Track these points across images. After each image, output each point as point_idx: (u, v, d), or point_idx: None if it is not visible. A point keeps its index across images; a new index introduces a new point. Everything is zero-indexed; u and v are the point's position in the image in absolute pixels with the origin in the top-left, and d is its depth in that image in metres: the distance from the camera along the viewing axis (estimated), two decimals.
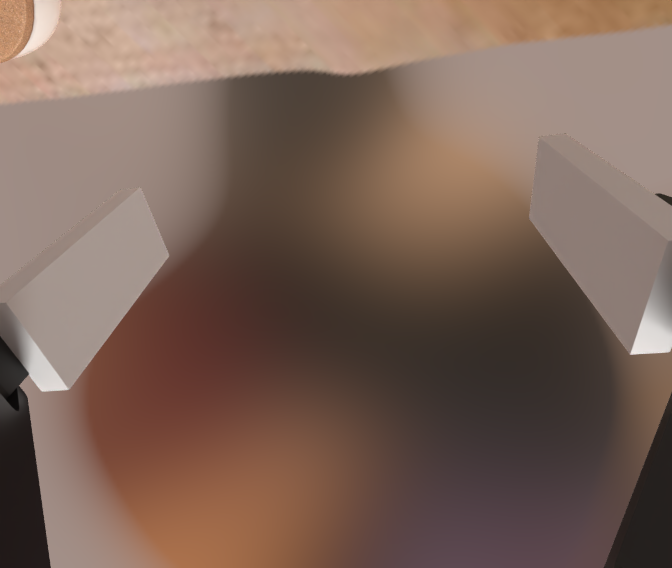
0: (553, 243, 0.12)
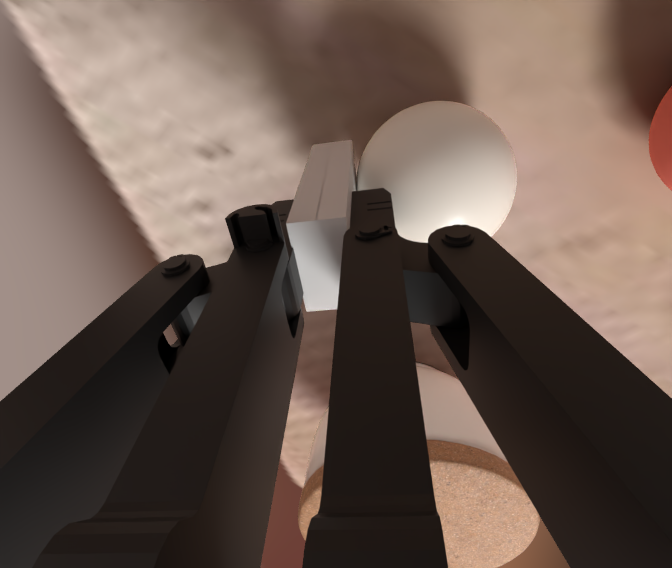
0: None
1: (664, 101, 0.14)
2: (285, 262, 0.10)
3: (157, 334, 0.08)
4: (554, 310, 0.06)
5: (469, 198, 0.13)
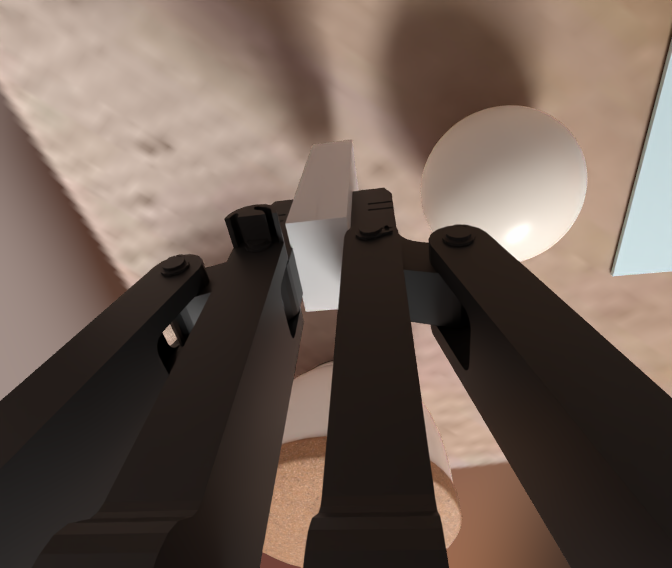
0: None
1: None
2: (284, 262, 0.10)
3: (156, 334, 0.08)
4: (554, 310, 0.06)
5: None
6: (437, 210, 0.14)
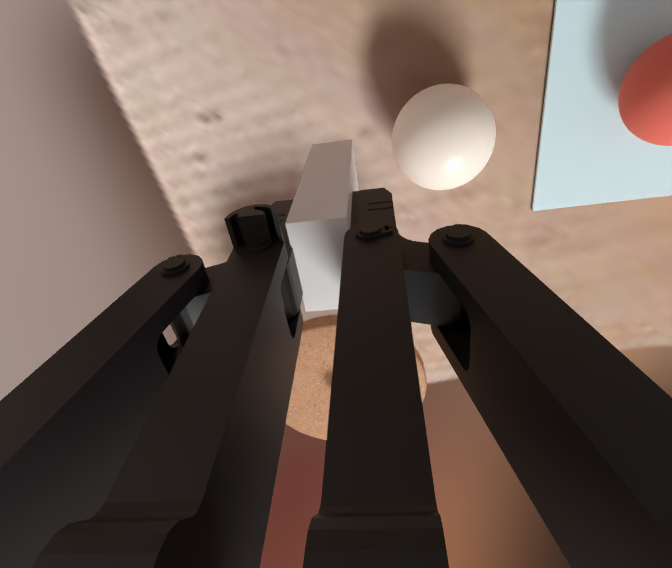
0: None
1: None
2: (284, 262, 0.10)
3: (156, 334, 0.08)
4: (555, 310, 0.06)
5: None
6: (401, 150, 0.22)
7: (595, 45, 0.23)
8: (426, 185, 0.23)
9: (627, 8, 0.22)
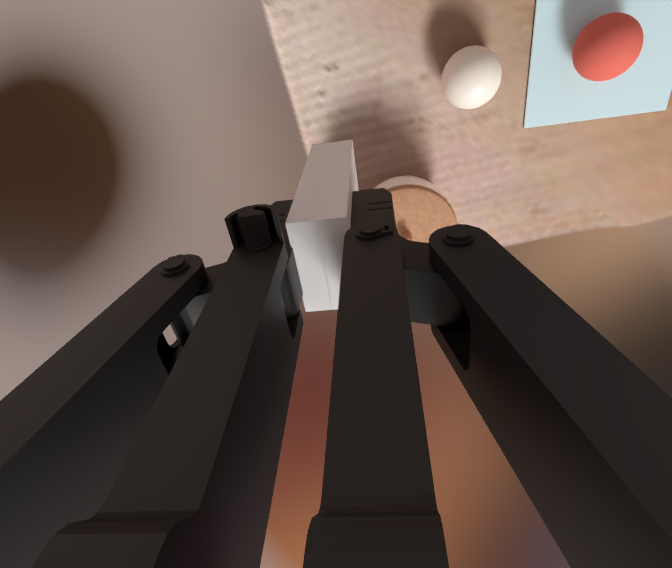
0: None
1: (636, 35, 0.36)
2: (284, 262, 0.10)
3: (156, 334, 0.08)
4: (555, 310, 0.06)
5: None
6: (448, 83, 0.40)
7: (559, 23, 0.40)
8: (461, 104, 0.40)
9: (576, 2, 0.39)
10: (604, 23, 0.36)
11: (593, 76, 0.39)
